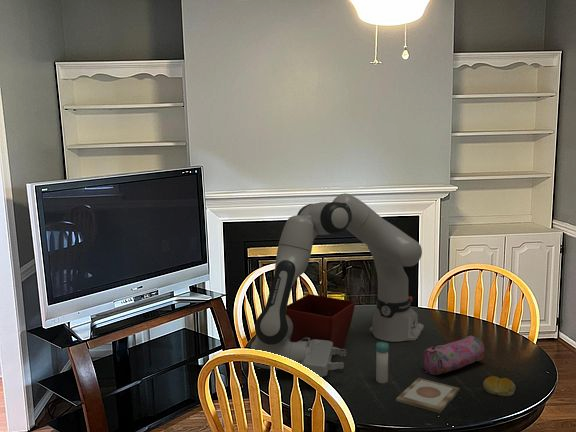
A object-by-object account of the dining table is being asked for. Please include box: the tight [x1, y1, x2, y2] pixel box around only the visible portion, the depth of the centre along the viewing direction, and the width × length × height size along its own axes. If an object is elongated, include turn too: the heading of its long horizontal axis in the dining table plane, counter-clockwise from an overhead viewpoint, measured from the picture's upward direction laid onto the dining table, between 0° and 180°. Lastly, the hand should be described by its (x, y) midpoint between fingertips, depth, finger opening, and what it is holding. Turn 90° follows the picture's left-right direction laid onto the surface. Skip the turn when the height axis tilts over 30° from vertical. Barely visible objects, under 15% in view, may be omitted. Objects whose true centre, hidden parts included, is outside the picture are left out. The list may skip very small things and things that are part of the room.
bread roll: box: [482, 375, 517, 397], centre depth 181 cm, size 8×9×4 cm
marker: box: [375, 341, 390, 384], centre depth 188 cm, size 4×4×12 cm
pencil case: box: [423, 335, 486, 376], centre depth 197 cm, size 21×9×9 cm, turn 121°
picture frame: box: [395, 377, 461, 414], centre depth 178 cm, size 16×13×1 cm
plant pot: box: [286, 293, 356, 357], centre depth 212 cm, size 19×19×17 cm
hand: (344, 358), depth 190 cm, fingers open, 8 cm apart
